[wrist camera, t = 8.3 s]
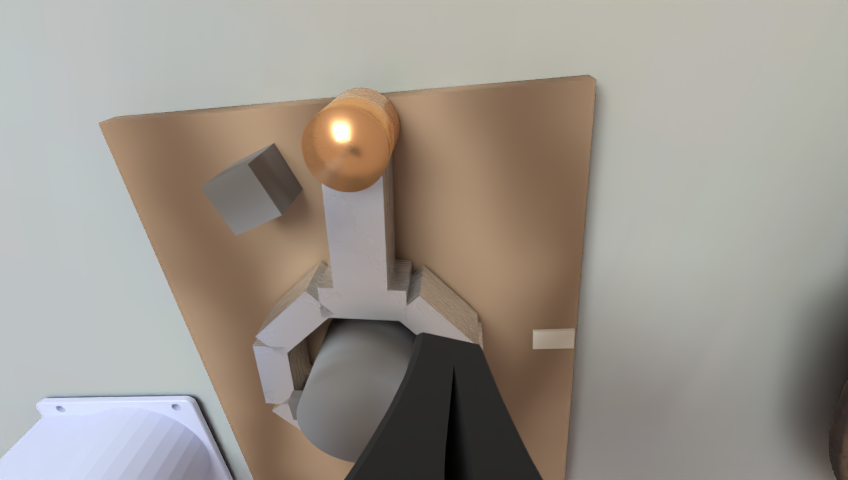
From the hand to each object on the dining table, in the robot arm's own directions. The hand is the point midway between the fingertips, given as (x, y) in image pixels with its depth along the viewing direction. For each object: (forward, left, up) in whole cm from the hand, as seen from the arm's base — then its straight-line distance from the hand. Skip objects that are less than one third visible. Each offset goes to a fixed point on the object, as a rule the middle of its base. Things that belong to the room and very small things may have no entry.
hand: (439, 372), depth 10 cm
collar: (-3, -3, -9) cm, 10 cm away
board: (-4, -7, -10) cm, 13 cm away
